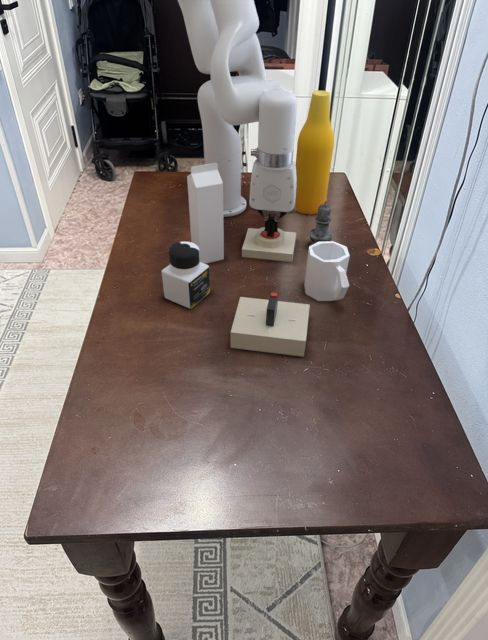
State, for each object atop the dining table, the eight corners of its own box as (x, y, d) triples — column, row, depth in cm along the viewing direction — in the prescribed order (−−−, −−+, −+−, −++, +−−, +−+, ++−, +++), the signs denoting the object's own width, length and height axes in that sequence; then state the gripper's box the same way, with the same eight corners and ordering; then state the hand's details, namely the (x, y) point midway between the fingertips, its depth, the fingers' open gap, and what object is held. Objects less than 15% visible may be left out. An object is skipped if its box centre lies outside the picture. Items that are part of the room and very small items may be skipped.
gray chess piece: (330, 254, 118) (337, 208, 110) (306, 251, 119) (311, 205, 111) (332, 242, 123) (339, 196, 114) (308, 239, 123) (314, 194, 115)
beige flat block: (230, 347, 94) (230, 331, 91) (240, 312, 102) (240, 295, 99) (303, 356, 93) (306, 340, 90) (307, 319, 101) (309, 303, 98)
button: (260, 243, 117) (260, 236, 116) (262, 234, 120) (263, 228, 119) (277, 244, 117) (277, 238, 115) (279, 236, 120) (279, 229, 118)
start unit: (241, 257, 117) (241, 242, 114) (248, 235, 124) (248, 221, 121) (292, 262, 116) (293, 247, 113) (295, 240, 123) (297, 225, 120)
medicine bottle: (190, 310, 102) (187, 260, 94) (163, 298, 105) (158, 249, 96) (210, 292, 106) (208, 244, 98) (184, 282, 109) (180, 233, 101)
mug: (297, 284, 109) (301, 245, 103) (330, 275, 112) (336, 237, 105) (324, 315, 102) (330, 276, 95) (359, 306, 104) (368, 266, 97)
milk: (224, 259, 116) (223, 168, 101) (199, 265, 114) (195, 173, 99) (214, 246, 120) (213, 157, 105) (191, 251, 118) (185, 161, 103)
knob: (273, 326, 93) (274, 308, 90) (265, 325, 93) (266, 307, 90) (277, 310, 96) (278, 292, 93) (269, 309, 96) (270, 291, 93)
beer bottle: (324, 200, 139) (340, 88, 119) (325, 216, 132) (342, 100, 112) (291, 198, 139) (301, 86, 119) (291, 214, 133) (301, 98, 113)
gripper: (237, 160, 102) (237, 238, 115) (309, 166, 101) (301, 245, 113) (243, 147, 108) (242, 223, 120) (311, 152, 106) (303, 228, 119)
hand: (270, 233), depth 117 cm, fingers closed
